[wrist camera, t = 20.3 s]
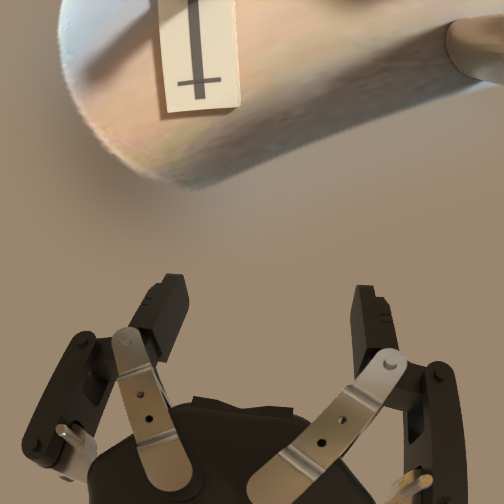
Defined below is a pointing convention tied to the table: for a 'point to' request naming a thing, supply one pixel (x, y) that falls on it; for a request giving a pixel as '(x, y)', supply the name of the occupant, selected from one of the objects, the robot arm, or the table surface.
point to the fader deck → (199, 54)
